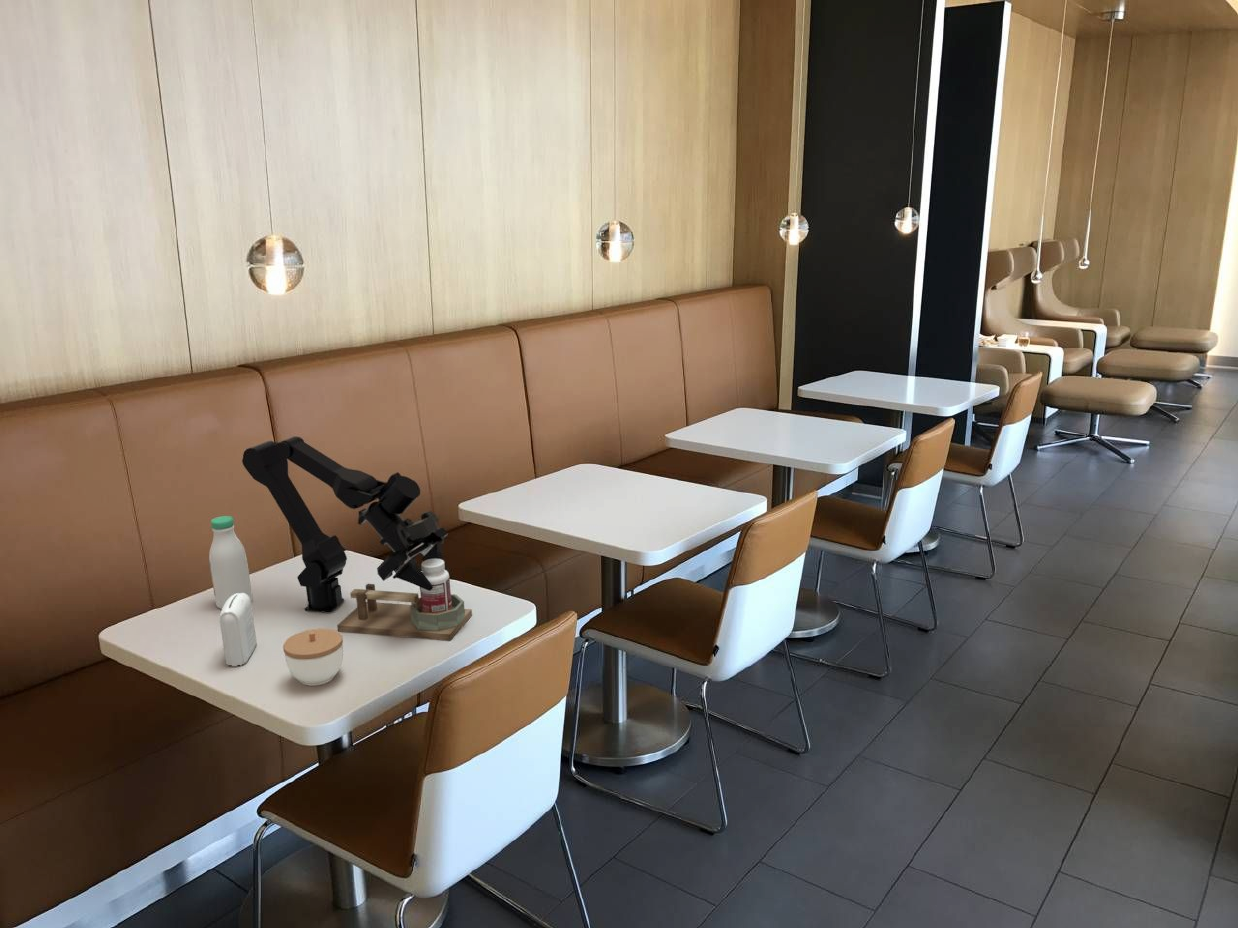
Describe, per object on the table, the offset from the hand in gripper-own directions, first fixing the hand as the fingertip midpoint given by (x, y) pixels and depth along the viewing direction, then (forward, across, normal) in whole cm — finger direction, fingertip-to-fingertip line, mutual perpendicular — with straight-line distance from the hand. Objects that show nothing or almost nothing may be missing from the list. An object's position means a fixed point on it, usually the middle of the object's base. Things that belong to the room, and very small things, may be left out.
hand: (440, 583), depth 211 cm
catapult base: (+1, -1, +13) cm, 13 cm away
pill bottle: (+4, 0, +6) cm, 7 cm away
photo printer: (-15, -25, +30) cm, 41 cm away
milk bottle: (-28, -6, +44) cm, 52 cm away
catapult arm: (0, -1, +12) cm, 12 cm away
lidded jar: (0, -27, +15) cm, 31 cm away
